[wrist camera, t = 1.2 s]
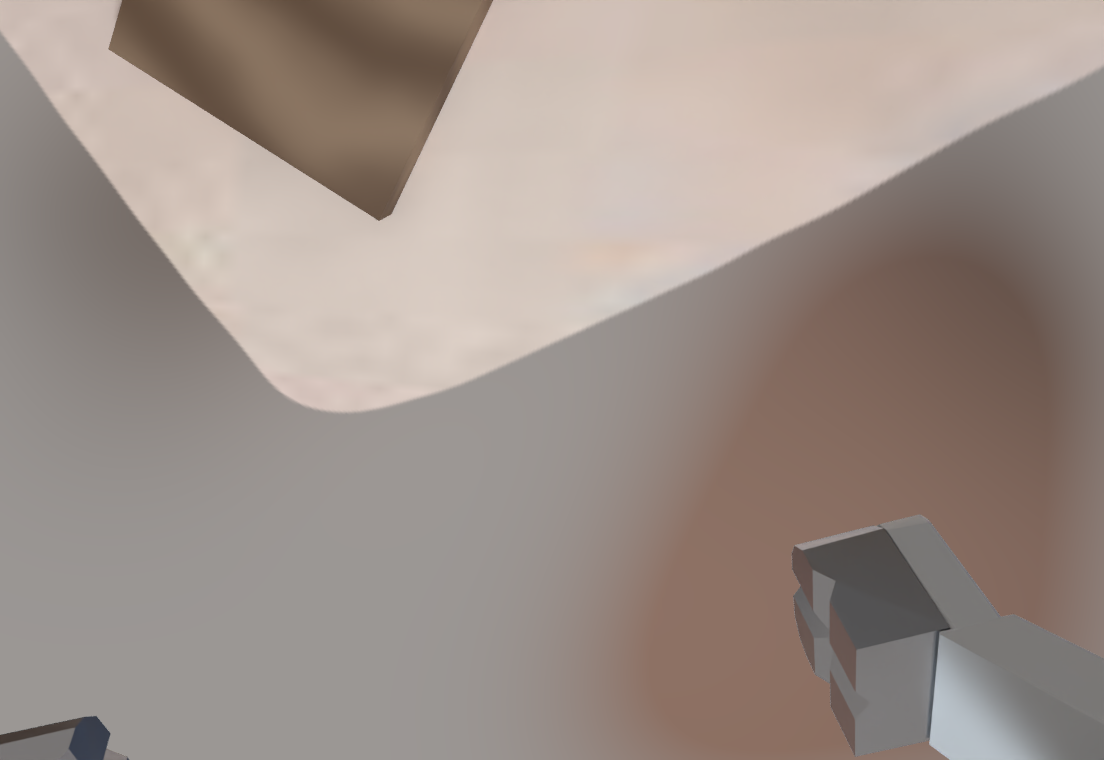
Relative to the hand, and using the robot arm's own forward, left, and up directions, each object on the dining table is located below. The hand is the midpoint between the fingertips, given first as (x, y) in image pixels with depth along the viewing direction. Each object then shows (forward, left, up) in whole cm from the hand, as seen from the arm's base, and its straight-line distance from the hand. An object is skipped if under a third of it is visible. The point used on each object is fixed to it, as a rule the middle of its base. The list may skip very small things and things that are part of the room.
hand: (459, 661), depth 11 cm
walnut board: (+3, -21, -36) cm, 41 cm away
